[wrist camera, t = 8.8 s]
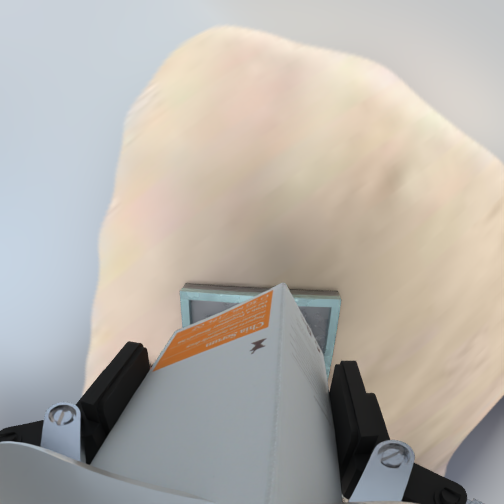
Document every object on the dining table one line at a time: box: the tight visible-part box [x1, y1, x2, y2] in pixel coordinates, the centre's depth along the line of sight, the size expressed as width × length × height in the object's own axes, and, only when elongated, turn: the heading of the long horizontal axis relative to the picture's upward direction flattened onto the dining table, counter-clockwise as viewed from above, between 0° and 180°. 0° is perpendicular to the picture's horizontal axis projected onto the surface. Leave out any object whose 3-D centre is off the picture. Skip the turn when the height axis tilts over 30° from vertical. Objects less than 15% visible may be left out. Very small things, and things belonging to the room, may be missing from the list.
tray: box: [180, 283, 341, 382], centre depth 31 cm, size 15×16×4 cm
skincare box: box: [90, 283, 343, 504], centre depth 9 cm, size 6×4×12 cm
